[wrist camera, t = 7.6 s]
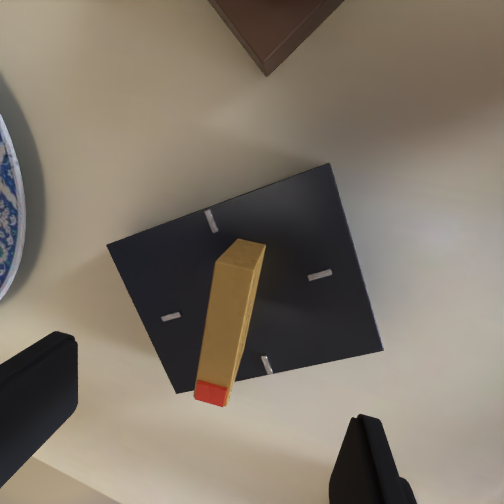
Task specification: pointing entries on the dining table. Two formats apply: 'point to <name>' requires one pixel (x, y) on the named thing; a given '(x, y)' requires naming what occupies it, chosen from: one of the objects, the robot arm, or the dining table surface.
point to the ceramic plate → (10, 211)
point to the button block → (273, 25)
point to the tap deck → (269, 285)
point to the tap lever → (228, 320)
